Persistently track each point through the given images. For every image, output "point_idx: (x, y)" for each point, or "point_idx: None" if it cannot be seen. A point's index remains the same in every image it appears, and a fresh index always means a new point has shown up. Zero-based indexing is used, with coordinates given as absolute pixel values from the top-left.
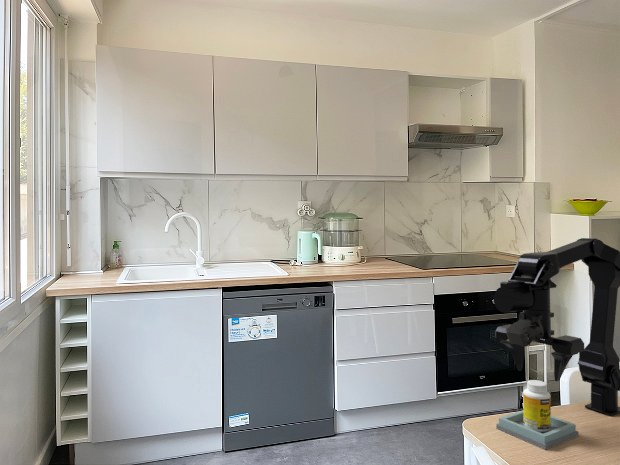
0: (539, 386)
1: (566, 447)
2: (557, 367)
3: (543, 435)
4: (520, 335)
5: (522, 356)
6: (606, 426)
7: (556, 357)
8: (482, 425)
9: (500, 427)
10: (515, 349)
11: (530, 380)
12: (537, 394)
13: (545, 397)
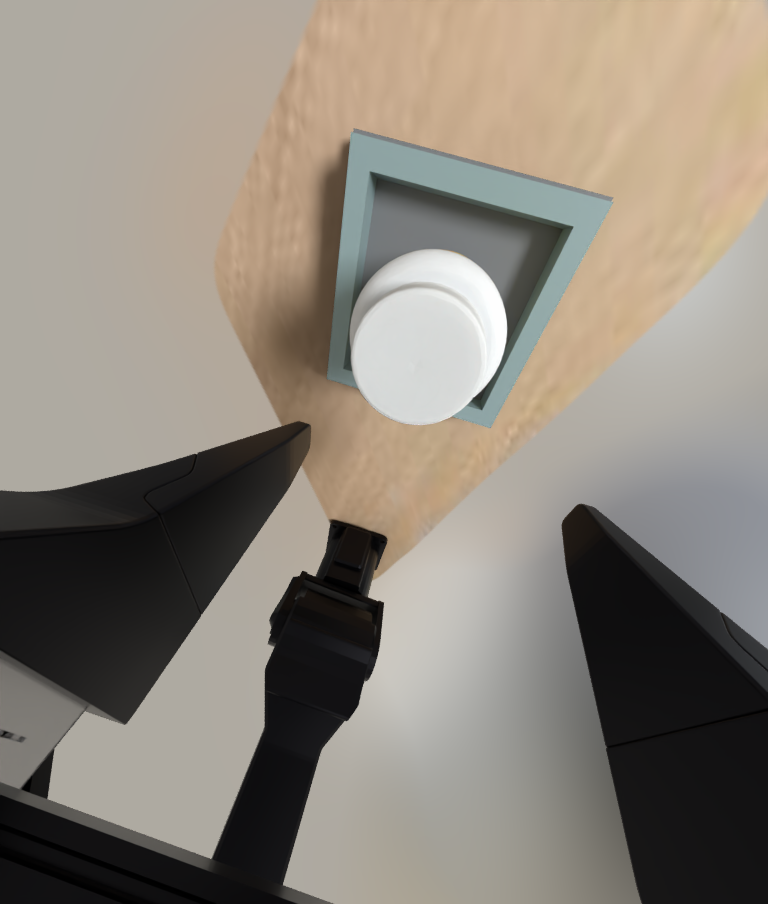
0: (376, 303)
1: (320, 246)
2: (200, 459)
3: (360, 147)
4: None
5: (594, 632)
6: (317, 469)
7: (5, 506)
8: (686, 182)
9: (585, 192)
10: (762, 724)
11: (469, 387)
12: (397, 278)
13: (357, 299)
